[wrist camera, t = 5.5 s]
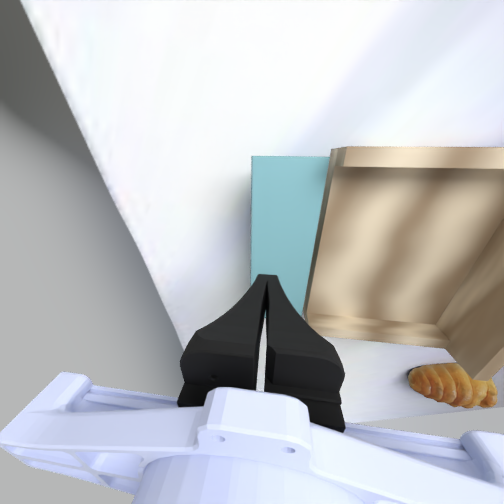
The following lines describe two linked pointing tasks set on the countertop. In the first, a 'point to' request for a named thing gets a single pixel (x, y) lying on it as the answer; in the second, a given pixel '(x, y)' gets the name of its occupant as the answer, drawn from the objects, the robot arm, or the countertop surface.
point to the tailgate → (286, 219)
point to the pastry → (452, 386)
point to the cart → (413, 251)
